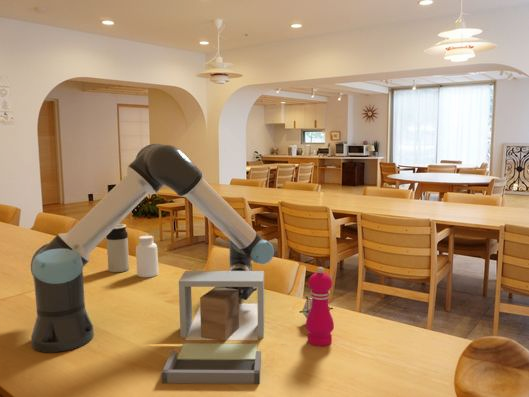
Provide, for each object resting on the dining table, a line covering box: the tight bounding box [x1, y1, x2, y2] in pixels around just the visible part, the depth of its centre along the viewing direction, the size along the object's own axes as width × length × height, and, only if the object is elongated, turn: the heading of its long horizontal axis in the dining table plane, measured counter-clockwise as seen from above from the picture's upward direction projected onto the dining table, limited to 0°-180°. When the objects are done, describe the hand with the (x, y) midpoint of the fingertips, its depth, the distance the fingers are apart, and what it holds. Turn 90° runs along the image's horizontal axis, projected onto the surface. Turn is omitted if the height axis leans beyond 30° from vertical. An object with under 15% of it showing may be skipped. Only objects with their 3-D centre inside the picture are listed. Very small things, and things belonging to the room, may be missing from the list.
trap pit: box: [161, 350, 262, 385], centre depth 107 cm, size 10×21×2 cm, turn 89°
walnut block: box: [199, 287, 239, 342], centre depth 125 cm, size 9×7×11 cm
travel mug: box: [105, 223, 130, 274], centre depth 185 cm, size 8×8×18 cm
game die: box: [299, 295, 334, 319], centre depth 133 cm, size 9×8×10 cm
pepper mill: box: [305, 266, 335, 347], centre depth 121 cm, size 7×7×20 cm
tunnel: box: [178, 270, 265, 341], centre depth 133 cm, size 26×22×16 cm
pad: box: [177, 342, 258, 360], centre depth 118 cm, size 12×19×1 cm, turn 89°
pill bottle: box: [135, 235, 159, 279], centre depth 178 cm, size 8×8×15 cm
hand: (232, 305), depth 129 cm, fingers closed
